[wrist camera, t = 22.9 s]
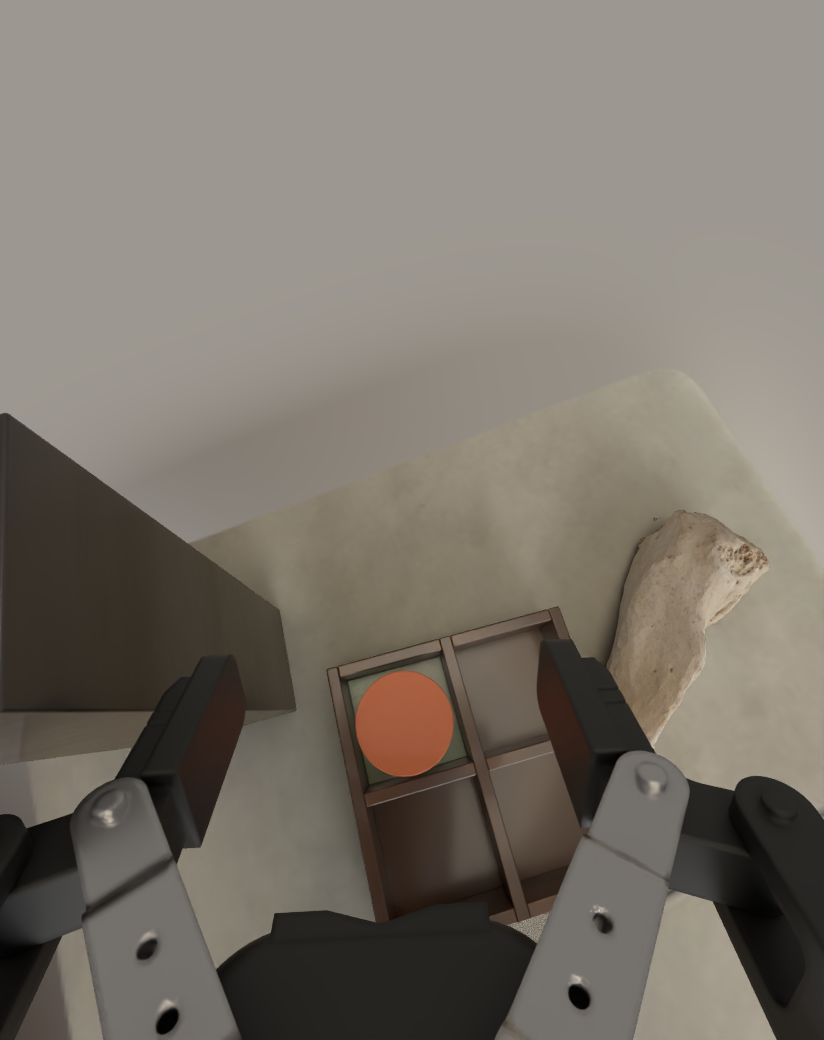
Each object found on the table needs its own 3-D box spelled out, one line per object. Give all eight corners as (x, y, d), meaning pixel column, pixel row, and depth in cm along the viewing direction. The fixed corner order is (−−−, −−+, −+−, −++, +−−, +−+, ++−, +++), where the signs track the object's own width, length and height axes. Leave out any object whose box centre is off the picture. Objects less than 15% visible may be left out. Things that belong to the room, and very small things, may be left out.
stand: (191, 739, 28) (-399, 817, 8) (180, 634, 31) (-309, 479, 10) (296, 710, 29) (1, 713, 8) (279, 609, 31) (7, 410, 10)
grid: (388, 932, 25) (384, 966, 22) (336, 673, 30) (325, 669, 26) (628, 856, 26) (659, 878, 23) (543, 617, 31) (558, 606, 27)
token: (381, 767, 27) (367, 789, 20) (364, 691, 29) (345, 684, 21) (452, 746, 28) (465, 760, 20) (432, 672, 29) (438, 659, 21)
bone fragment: (651, 511, 33) (688, 482, 29) (743, 568, 32) (796, 546, 27) (543, 688, 29) (566, 686, 25) (642, 760, 28) (685, 771, 24)
